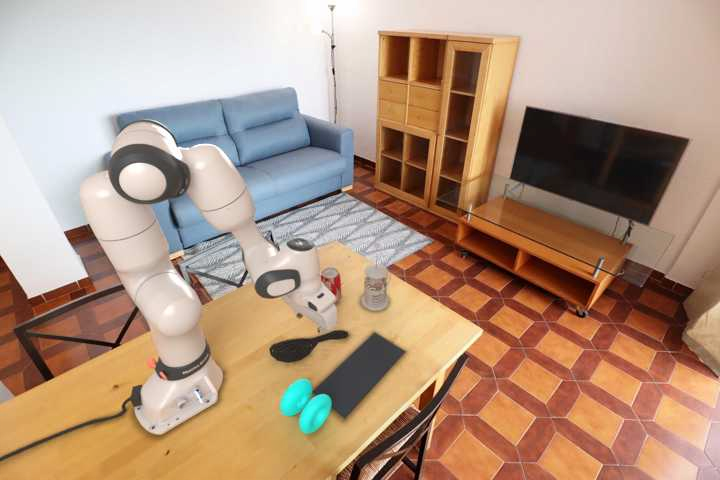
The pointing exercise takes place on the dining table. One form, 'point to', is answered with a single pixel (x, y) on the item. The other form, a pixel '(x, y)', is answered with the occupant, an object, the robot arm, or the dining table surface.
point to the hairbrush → (301, 346)
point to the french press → (375, 286)
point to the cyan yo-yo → (305, 405)
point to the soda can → (332, 281)
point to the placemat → (359, 373)
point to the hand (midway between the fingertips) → (310, 324)
